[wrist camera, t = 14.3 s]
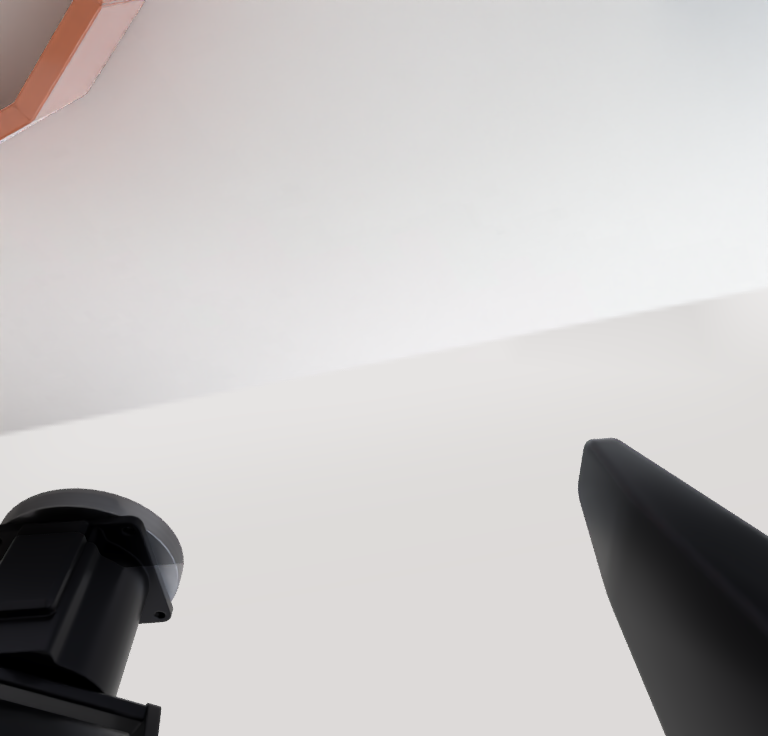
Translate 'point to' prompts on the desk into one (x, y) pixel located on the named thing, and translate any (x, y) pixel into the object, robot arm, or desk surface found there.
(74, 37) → the ring
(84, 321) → the desk surface
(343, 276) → the desk surface
